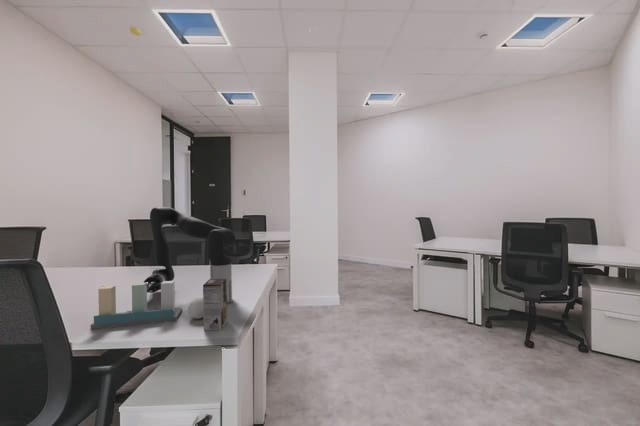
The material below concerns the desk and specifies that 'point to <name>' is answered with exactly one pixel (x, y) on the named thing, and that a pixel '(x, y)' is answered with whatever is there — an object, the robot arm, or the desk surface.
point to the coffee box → (215, 304)
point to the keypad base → (135, 318)
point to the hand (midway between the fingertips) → (143, 291)
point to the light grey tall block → (167, 295)
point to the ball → (196, 308)
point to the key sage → (139, 297)
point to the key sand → (107, 300)
